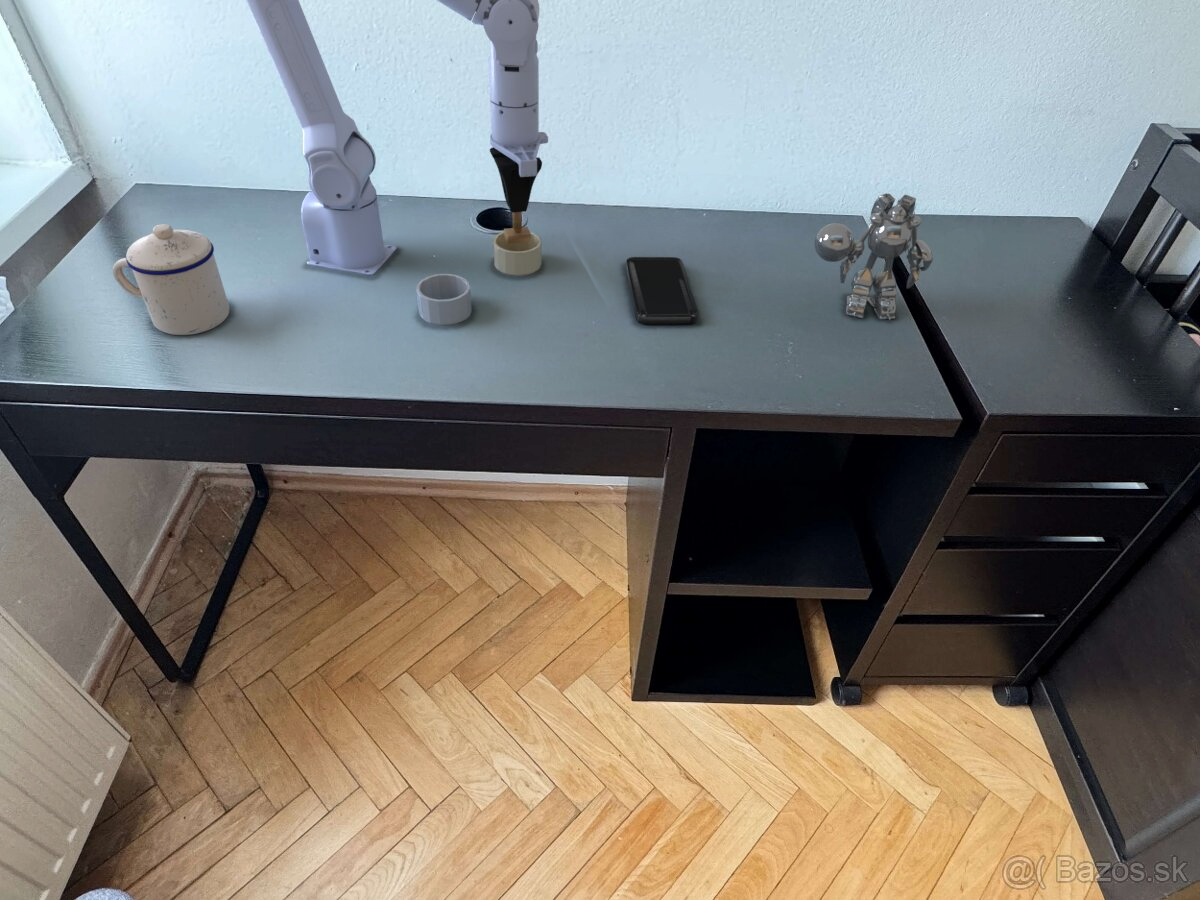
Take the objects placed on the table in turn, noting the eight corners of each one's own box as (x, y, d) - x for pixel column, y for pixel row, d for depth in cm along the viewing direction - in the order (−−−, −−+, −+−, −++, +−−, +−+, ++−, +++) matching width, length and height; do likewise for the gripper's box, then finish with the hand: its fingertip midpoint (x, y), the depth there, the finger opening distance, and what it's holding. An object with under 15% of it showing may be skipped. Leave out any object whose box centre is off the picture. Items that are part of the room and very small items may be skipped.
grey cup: (411, 323, 98) (408, 296, 96) (431, 296, 103) (428, 270, 100) (461, 331, 97) (459, 304, 95) (478, 304, 102) (477, 278, 99)
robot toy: (802, 315, 104) (830, 206, 94) (796, 290, 108) (823, 184, 98) (916, 323, 104) (957, 215, 94) (905, 298, 108) (943, 192, 98)
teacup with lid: (243, 298, 100) (218, 211, 92) (215, 340, 93) (185, 249, 86) (147, 292, 100) (114, 204, 92) (112, 333, 93) (73, 242, 85)
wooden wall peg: (507, 244, 106) (505, 190, 101) (504, 236, 107) (502, 183, 102) (531, 241, 106) (530, 188, 101) (527, 234, 108) (526, 181, 103)
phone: (638, 316, 99) (625, 256, 110) (637, 324, 100) (625, 264, 111) (700, 316, 100) (682, 257, 111) (699, 324, 101) (681, 264, 112)
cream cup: (487, 273, 108) (486, 248, 105) (502, 251, 112) (501, 226, 110) (533, 281, 107) (533, 255, 104) (546, 258, 111) (546, 233, 109)
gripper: (563, 120, 91) (561, 230, 100) (533, 77, 101) (533, 181, 110) (501, 123, 89) (505, 236, 98) (477, 80, 99) (482, 185, 108)
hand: (516, 207), depth 104 cm, fingers closed on wooden wall peg, 1 cm apart
